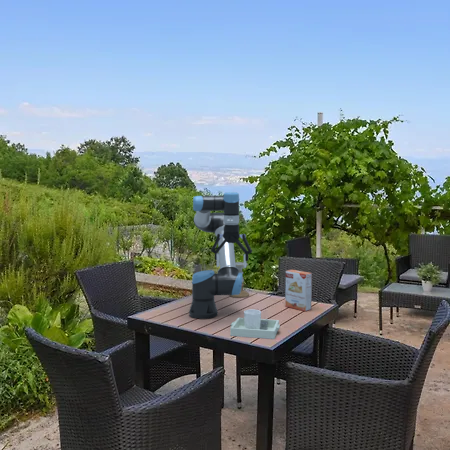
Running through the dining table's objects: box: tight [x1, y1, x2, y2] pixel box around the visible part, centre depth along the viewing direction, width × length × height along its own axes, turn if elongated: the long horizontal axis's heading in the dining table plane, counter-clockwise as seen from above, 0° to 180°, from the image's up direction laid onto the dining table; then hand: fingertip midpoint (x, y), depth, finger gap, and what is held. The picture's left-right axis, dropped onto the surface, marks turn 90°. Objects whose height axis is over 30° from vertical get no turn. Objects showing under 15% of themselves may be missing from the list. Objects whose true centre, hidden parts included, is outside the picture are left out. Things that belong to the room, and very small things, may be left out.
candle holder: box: [229, 261, 250, 299], centre depth 291 cm, size 12×12×20 cm
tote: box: [229, 317, 281, 340], centre depth 218 cm, size 22×17×4 cm
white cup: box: [243, 308, 262, 330], centre depth 216 cm, size 8×8×10 cm
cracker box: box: [284, 269, 313, 312], centre depth 260 cm, size 14×6×21 cm, turn 45°
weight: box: [260, 321, 268, 330], centre depth 223 cm, size 10×4×4 cm, turn 77°
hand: (231, 267), depth 231 cm, fingers open, 13 cm apart
